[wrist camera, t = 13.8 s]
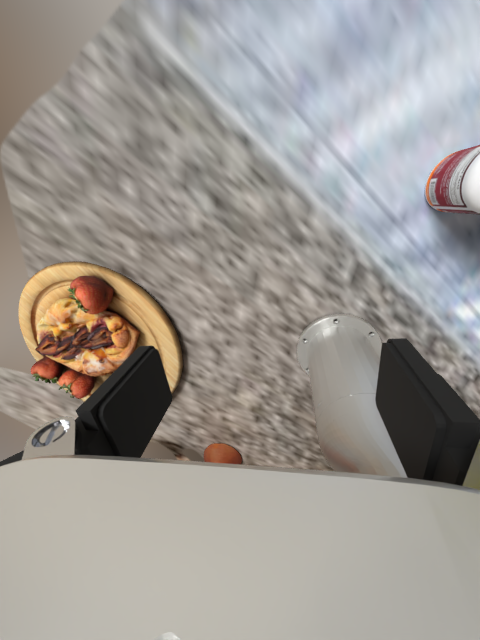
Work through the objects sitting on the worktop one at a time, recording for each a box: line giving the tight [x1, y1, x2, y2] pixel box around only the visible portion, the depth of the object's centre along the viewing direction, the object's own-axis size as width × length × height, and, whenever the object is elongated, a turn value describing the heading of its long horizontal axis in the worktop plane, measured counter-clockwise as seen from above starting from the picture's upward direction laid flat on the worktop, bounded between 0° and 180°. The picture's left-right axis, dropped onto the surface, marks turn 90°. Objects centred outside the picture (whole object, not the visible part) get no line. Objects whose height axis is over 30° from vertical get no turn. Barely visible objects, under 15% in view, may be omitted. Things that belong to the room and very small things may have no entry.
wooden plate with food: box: [19, 262, 183, 402], centre depth 45 cm, size 32×32×8 cm
